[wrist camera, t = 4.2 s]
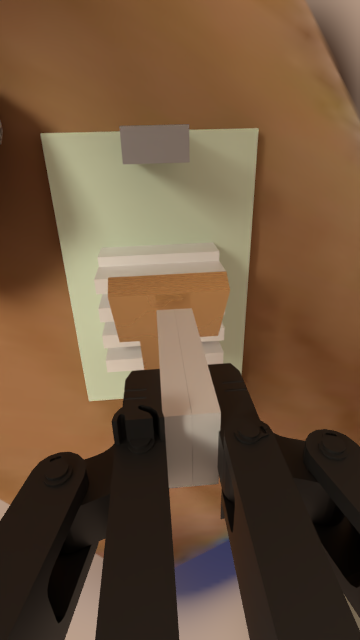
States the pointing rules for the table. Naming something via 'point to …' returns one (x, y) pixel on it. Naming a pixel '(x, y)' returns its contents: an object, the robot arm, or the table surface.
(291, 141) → the table surface
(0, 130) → the rock
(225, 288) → the strap
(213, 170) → the heatsink board
